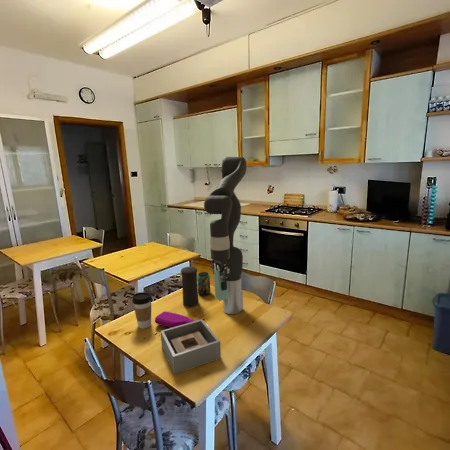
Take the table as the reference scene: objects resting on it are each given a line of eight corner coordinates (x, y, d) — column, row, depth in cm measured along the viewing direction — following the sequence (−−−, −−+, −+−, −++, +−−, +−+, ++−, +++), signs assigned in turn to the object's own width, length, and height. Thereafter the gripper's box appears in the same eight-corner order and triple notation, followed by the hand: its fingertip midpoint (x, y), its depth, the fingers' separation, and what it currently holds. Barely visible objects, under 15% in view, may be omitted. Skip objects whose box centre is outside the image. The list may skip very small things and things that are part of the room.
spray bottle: (164, 316, 137) (211, 327, 130) (152, 324, 126) (202, 337, 119) (165, 310, 137) (212, 321, 129) (152, 317, 126) (203, 330, 119)
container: (201, 300, 152) (199, 265, 148) (195, 308, 144) (193, 271, 140) (186, 299, 154) (184, 264, 150) (180, 307, 146) (177, 270, 142)
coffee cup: (137, 320, 134) (134, 291, 131) (155, 319, 134) (152, 290, 131) (133, 330, 126) (129, 299, 123) (152, 329, 126) (149, 298, 123)
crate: (202, 333, 121) (202, 319, 120) (220, 357, 106) (220, 341, 104) (161, 346, 114) (160, 330, 112) (174, 374, 98) (173, 356, 96)
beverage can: (203, 297, 156) (202, 277, 154) (195, 293, 161) (194, 273, 159) (212, 293, 161) (212, 273, 158) (205, 289, 166) (204, 270, 163)
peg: (224, 294, 116) (223, 267, 113) (228, 298, 112) (227, 270, 110) (215, 296, 114) (214, 269, 112) (219, 300, 111) (218, 272, 108)
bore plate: (198, 337, 117) (198, 330, 117) (210, 353, 107) (209, 346, 106) (170, 346, 112) (170, 339, 112) (180, 364, 102) (179, 356, 101)
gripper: (237, 249, 104) (238, 292, 108) (220, 241, 117) (222, 280, 120) (219, 253, 101) (220, 297, 105) (204, 244, 114) (206, 283, 117)
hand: (221, 287), depth 112 cm, fingers closed on peg, 4 cm apart
